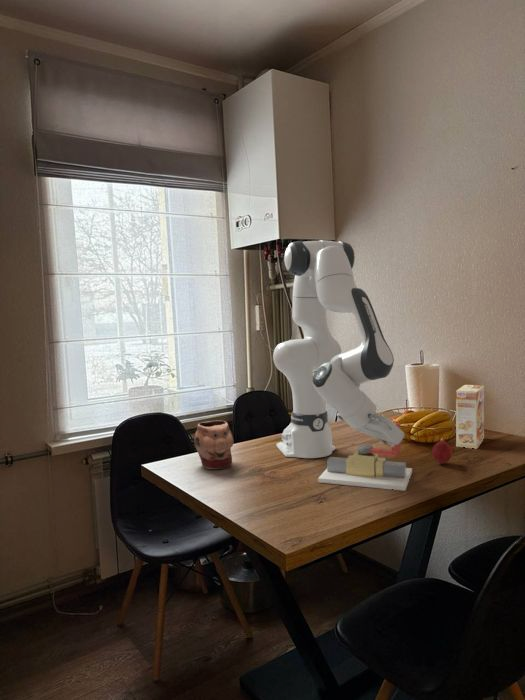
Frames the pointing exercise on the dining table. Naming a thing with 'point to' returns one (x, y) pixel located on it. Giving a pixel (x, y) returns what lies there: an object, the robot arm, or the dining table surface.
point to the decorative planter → (214, 444)
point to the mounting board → (366, 480)
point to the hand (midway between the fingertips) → (390, 443)
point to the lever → (369, 449)
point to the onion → (442, 451)
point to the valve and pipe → (366, 466)
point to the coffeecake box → (470, 416)
